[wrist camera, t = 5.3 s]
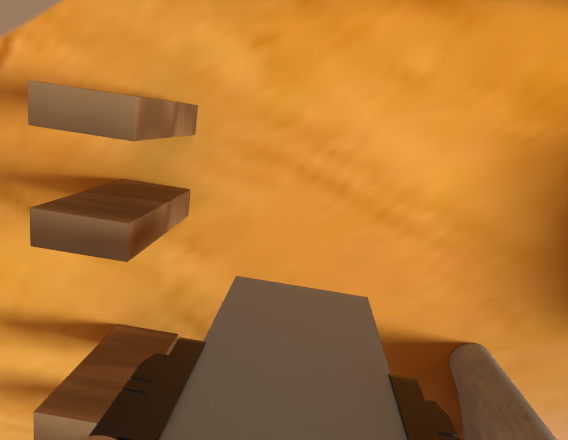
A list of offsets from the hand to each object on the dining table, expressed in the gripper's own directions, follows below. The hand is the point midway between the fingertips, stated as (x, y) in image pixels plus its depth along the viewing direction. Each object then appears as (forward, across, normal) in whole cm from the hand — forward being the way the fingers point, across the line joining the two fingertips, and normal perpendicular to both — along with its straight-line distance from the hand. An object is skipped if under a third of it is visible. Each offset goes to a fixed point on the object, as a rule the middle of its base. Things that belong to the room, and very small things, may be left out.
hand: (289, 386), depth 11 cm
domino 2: (+19, +11, 0) cm, 22 cm away
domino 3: (+19, +11, +12) cm, 25 cm away
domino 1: (+19, +11, -6) cm, 23 cm away
